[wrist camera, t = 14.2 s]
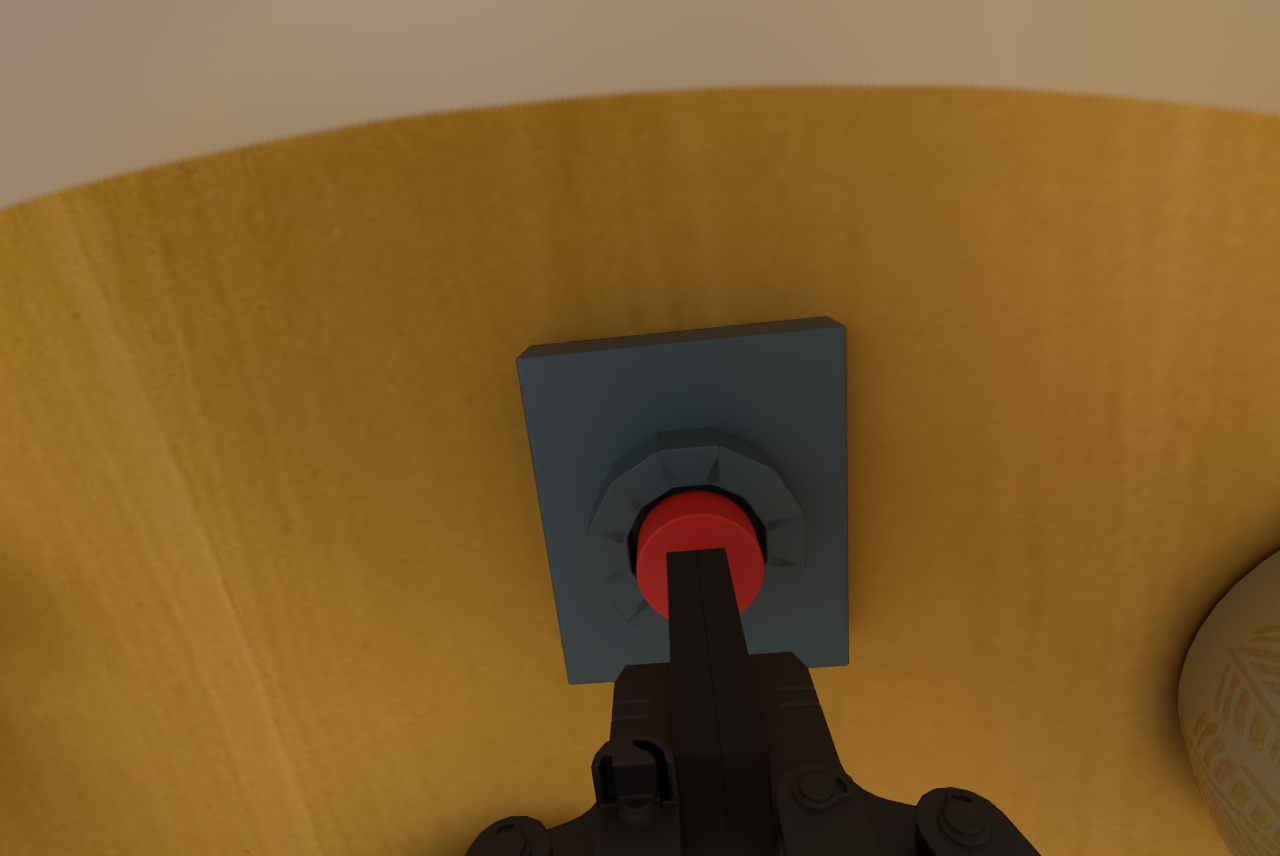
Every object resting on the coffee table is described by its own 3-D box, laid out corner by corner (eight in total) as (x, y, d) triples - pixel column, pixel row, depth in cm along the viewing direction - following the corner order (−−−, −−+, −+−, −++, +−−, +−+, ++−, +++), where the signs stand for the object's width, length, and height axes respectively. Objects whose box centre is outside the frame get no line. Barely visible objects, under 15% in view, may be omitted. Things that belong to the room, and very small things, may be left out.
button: (632, 494, 19) (629, 519, 18) (752, 484, 19) (761, 508, 17) (644, 599, 20) (643, 632, 19) (758, 590, 20) (767, 623, 18)
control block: (528, 345, 22) (500, 370, 18) (828, 316, 21) (866, 335, 17) (575, 647, 25) (560, 722, 21) (833, 628, 25) (865, 702, 21)
